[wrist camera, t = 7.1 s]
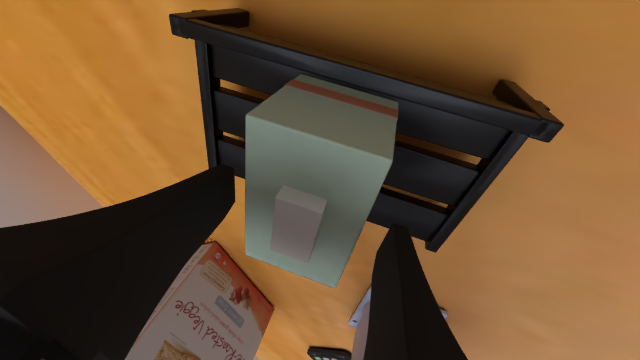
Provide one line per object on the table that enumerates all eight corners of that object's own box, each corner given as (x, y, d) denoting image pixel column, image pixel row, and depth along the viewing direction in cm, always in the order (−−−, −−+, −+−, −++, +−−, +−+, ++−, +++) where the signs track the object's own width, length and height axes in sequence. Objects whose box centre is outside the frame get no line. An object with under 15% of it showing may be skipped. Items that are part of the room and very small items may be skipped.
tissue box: (354, 215, 17) (332, 304, 12) (284, 191, 18) (236, 267, 13) (399, 101, 12) (393, 174, 7) (300, 72, 13) (231, 122, 8)
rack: (431, 213, 19) (438, 275, 15) (236, 149, 21) (193, 188, 17) (519, 83, 13) (572, 126, 9) (233, 7, 15) (163, 12, 11)
